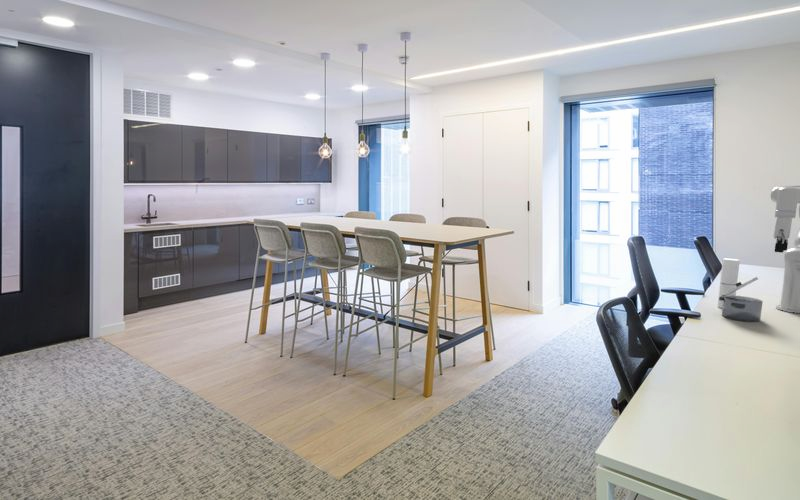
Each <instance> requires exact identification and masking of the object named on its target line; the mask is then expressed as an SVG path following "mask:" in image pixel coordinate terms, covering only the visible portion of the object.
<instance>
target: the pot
mask: <svg viewBox="0 0 800 500" xmlns="http://www.w3.org/2000/svg"><path fill="white" fill-rule="evenodd" d="M718 297H719V296H718ZM719 300H721V301H723V308H721V316H722V317H724V318H726V319H729V320H732V321H737V322H745V323H759V322H761V317H762V316H761V315H762V309H763V300H762V299H758V298H755V297H750V296H742V295H736V296H723V295H722V296H720V297H719Z"/></svg>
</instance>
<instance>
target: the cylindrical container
mask: <svg viewBox="0 0 800 500" xmlns="http://www.w3.org/2000/svg"><path fill="white" fill-rule="evenodd" d="M721 262H722V264H721V271H720V272H721V273H720V282H719V290H718V299H717V306H718V307H717V308H719V307H720V308H719V309H723V301H721V300H719V297H720V296H722V295H723V294H724V293H726V292H728V291H730V290H732V289H734V288H736V287H737V286H736V285H735V284H737V283H738V280H739V279H738V278H739V277H738V276H739V271H740V263H741V260H740V259H738V258H726V257H724V258H722V261H721ZM736 293H737V290H736V291H734V292H732V293H730V294H728V295H726V296H737V295H736Z"/></svg>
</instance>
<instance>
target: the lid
mask: <svg viewBox="0 0 800 500" xmlns="http://www.w3.org/2000/svg"><path fill="white" fill-rule="evenodd" d="M758 280H759V278H758V277H757V276H755V277H754V278H752V279H749V280H747V281H746V282H744V283H742V282H741V281H739V282H737V284H735V285H736V286H737V287H736V288H734V289H732V290H730V291H728V292H726V293H724V294H723V296H726V295H728V294H730V293H732V292H734V291H736V292H737V291H739V290H740V289H742V288H745V287H746V286H748V285H751V284H752V283H753V282H756V281H758Z"/></svg>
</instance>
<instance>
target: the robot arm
mask: <svg viewBox="0 0 800 500" xmlns="http://www.w3.org/2000/svg"><path fill="white" fill-rule="evenodd" d="M770 199H771V201H772V202H773V203H776V205H775V211H774V213H775V214H774V218H776V222H775V225H774V230H773V231H774V233H773V239H774V240H775V245H774V253H784V254H783V260H784V262H783V263H784V274H783V281H782V289H781V297H780V303H779V304H778V305H776V306H775V308H776V309H777V310H779V311H782V310H783V312H788V313H793V312H794V314H795V313H796V314H800V228H799V229H798V232H797V233H796V237H795V239H794V243H793V245H794V247H793V248H789V249H788V245H789V242H788V241H789V238H790V235H791V230H792V221H793V219H795V218H796V214H797V211H798V219H799V220H800V185H790V186H789V185H788V186H787V185H786V186H775V187H774V188H773V189H772V190H771V192H770ZM797 207H798V208H797Z"/></svg>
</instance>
